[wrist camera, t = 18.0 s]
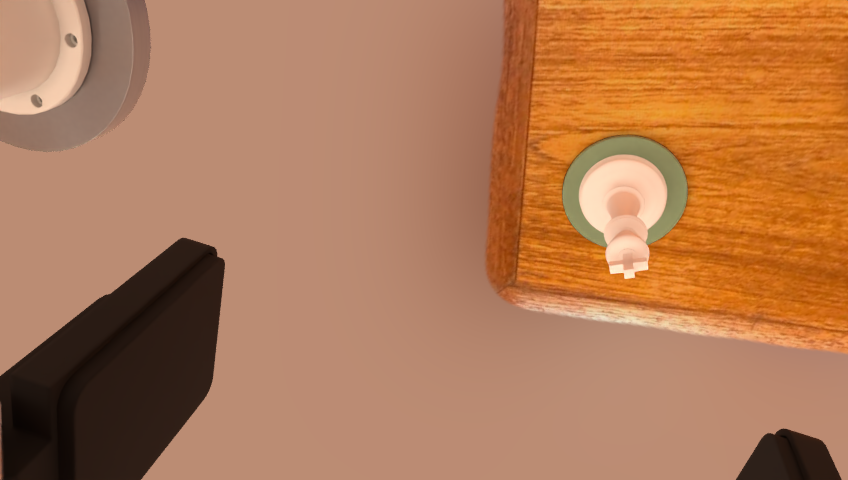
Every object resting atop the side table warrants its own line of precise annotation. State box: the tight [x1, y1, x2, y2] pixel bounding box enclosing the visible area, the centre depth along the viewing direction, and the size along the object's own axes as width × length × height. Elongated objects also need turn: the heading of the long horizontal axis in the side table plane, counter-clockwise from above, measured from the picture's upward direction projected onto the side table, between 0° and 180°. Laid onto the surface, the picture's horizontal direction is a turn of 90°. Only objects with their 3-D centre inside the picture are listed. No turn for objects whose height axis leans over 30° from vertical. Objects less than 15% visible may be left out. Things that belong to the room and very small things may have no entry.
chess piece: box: [579, 154, 667, 279], centre depth 35 cm, size 5×5×10 cm
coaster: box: [562, 135, 688, 247], centre depth 40 cm, size 7×7×1 cm
